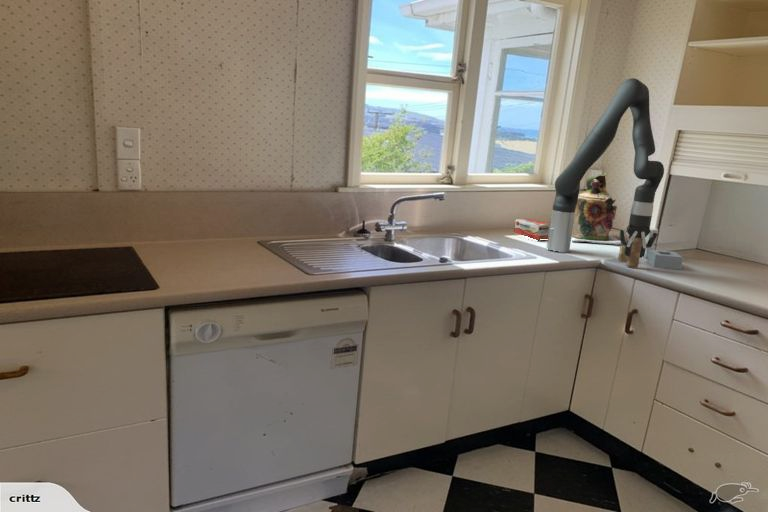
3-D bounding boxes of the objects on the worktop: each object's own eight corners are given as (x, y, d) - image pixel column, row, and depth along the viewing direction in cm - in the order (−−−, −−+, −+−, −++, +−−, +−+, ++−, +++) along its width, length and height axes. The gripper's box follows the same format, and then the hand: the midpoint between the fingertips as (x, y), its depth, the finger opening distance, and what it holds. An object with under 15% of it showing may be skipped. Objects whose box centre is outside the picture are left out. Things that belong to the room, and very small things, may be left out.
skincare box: (646, 258, 231) (651, 230, 229) (636, 255, 235) (641, 228, 232) (654, 256, 235) (659, 229, 232) (644, 254, 238) (649, 227, 235)
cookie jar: (557, 232, 278) (566, 169, 270) (606, 235, 277) (616, 172, 270) (571, 242, 254) (582, 173, 246) (625, 246, 253) (636, 177, 246)
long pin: (628, 267, 213) (633, 237, 210) (626, 265, 216) (631, 235, 213) (637, 268, 212) (642, 238, 209) (635, 266, 215) (640, 236, 212)
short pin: (619, 261, 222) (622, 247, 221) (618, 259, 226) (620, 245, 224) (628, 262, 222) (631, 248, 220) (626, 260, 225) (629, 246, 224)
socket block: (653, 267, 216) (655, 254, 215) (646, 261, 226) (648, 249, 225) (680, 269, 214) (682, 257, 213) (672, 263, 224) (674, 251, 223)
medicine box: (512, 235, 263) (514, 219, 262) (524, 234, 268) (526, 218, 266) (536, 242, 251) (538, 225, 249) (548, 240, 255) (551, 224, 254)
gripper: (623, 213, 206) (616, 256, 211) (664, 216, 204) (655, 260, 208) (619, 210, 214) (612, 252, 218) (658, 213, 211) (650, 256, 215)
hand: (633, 256), depth 213 cm, fingers open, 4 cm apart
